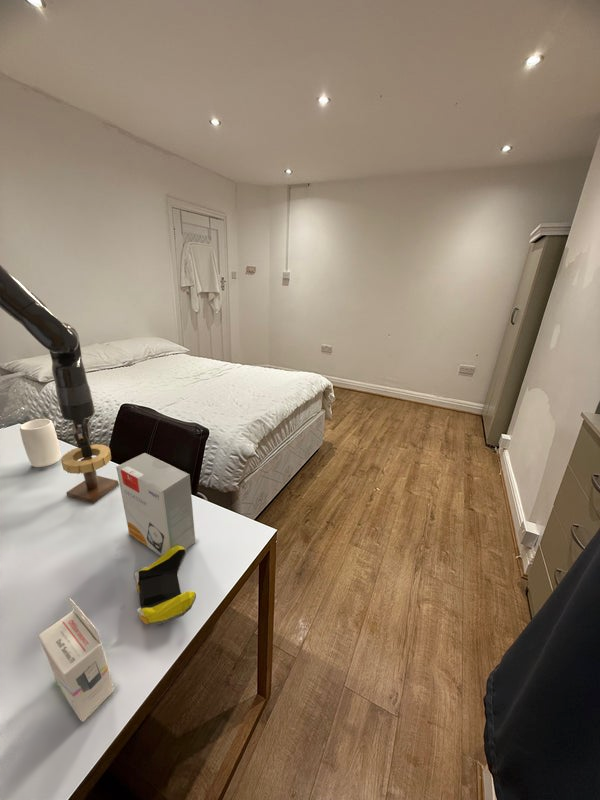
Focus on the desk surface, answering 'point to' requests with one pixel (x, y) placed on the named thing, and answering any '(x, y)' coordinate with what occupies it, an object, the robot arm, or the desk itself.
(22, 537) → the desk surface
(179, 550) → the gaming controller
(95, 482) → the stand
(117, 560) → the desk surface
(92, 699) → the ink box
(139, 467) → the hard drive box
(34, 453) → the cup
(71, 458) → the ring
